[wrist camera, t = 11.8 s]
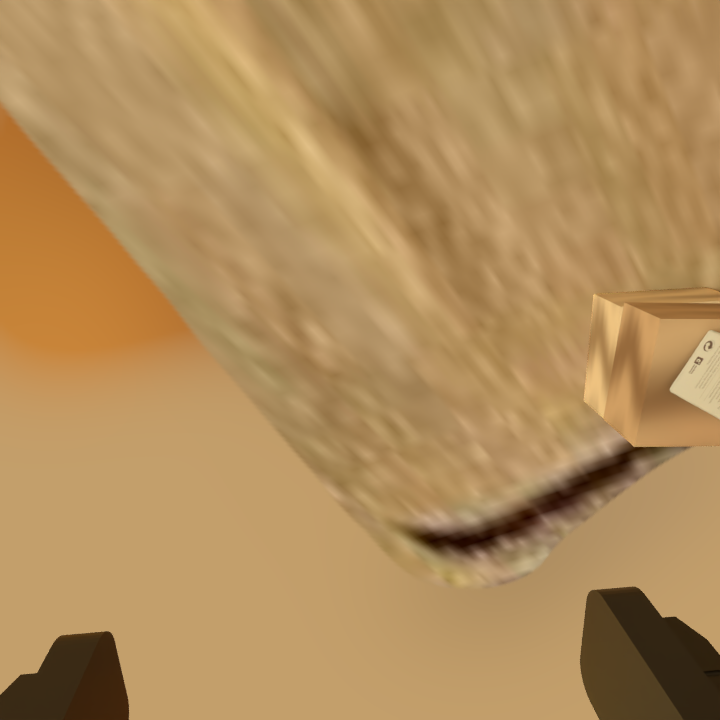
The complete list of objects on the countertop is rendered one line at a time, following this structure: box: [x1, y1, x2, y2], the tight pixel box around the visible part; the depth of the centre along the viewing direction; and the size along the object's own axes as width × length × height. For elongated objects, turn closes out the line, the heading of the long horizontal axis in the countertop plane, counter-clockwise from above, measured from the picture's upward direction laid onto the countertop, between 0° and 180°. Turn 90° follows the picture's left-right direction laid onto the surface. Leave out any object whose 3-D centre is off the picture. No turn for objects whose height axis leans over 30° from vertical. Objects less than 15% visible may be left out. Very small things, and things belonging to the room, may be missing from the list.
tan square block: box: [603, 302, 720, 447], centre depth 36 cm, size 8×8×4 cm
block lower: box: [584, 287, 720, 418], centre depth 40 cm, size 8×8×4 cm
